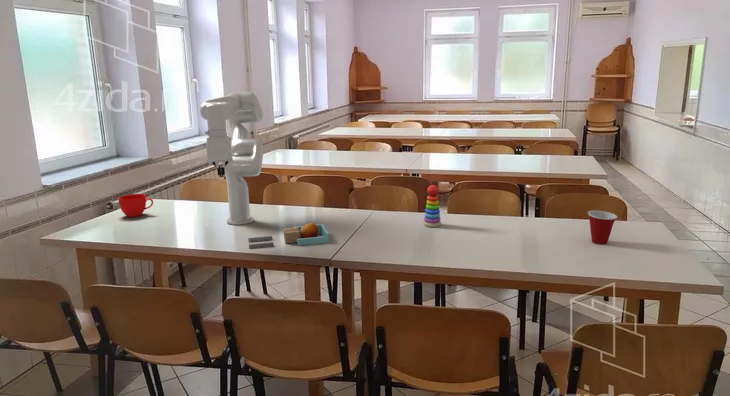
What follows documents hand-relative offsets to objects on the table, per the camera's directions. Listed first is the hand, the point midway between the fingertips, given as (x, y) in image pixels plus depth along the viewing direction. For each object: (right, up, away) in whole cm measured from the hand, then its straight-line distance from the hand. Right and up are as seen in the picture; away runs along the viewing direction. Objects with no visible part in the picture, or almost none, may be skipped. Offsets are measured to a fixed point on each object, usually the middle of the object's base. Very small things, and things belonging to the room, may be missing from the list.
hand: (221, 176), depth 229 cm
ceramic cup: (-55, -18, +47) cm, 75 cm away
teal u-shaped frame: (+38, -27, +1) cm, 46 cm away
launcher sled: (+30, -27, -1) cm, 41 cm away
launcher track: (+18, -28, -4) cm, 34 cm away
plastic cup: (+155, -27, -14) cm, 158 cm away
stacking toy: (+92, -22, +16) cm, 96 cm away
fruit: (+37, -27, +1) cm, 46 cm away
